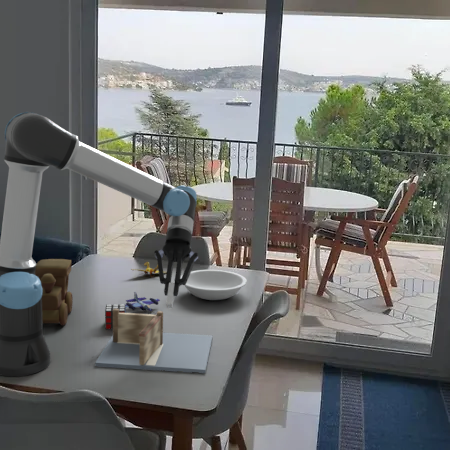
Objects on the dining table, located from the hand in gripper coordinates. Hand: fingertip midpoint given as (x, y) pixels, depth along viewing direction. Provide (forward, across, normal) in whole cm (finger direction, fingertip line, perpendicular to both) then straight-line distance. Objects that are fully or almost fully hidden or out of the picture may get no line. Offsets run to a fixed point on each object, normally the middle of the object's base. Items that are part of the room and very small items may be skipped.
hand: (169, 305), depth 168 cm
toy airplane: (-11, +13, -31) cm, 35 cm away
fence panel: (+12, +4, -5) cm, 14 cm away
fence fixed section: (+7, +9, -11) cm, 16 cm away
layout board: (+10, +3, -9) cm, 14 cm away
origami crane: (-39, +18, -59) cm, 73 cm away
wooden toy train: (-4, +40, -24) cm, 47 cm away
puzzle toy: (-2, +19, -22) cm, 29 cm away
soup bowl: (-25, -8, -44) cm, 52 cm away
